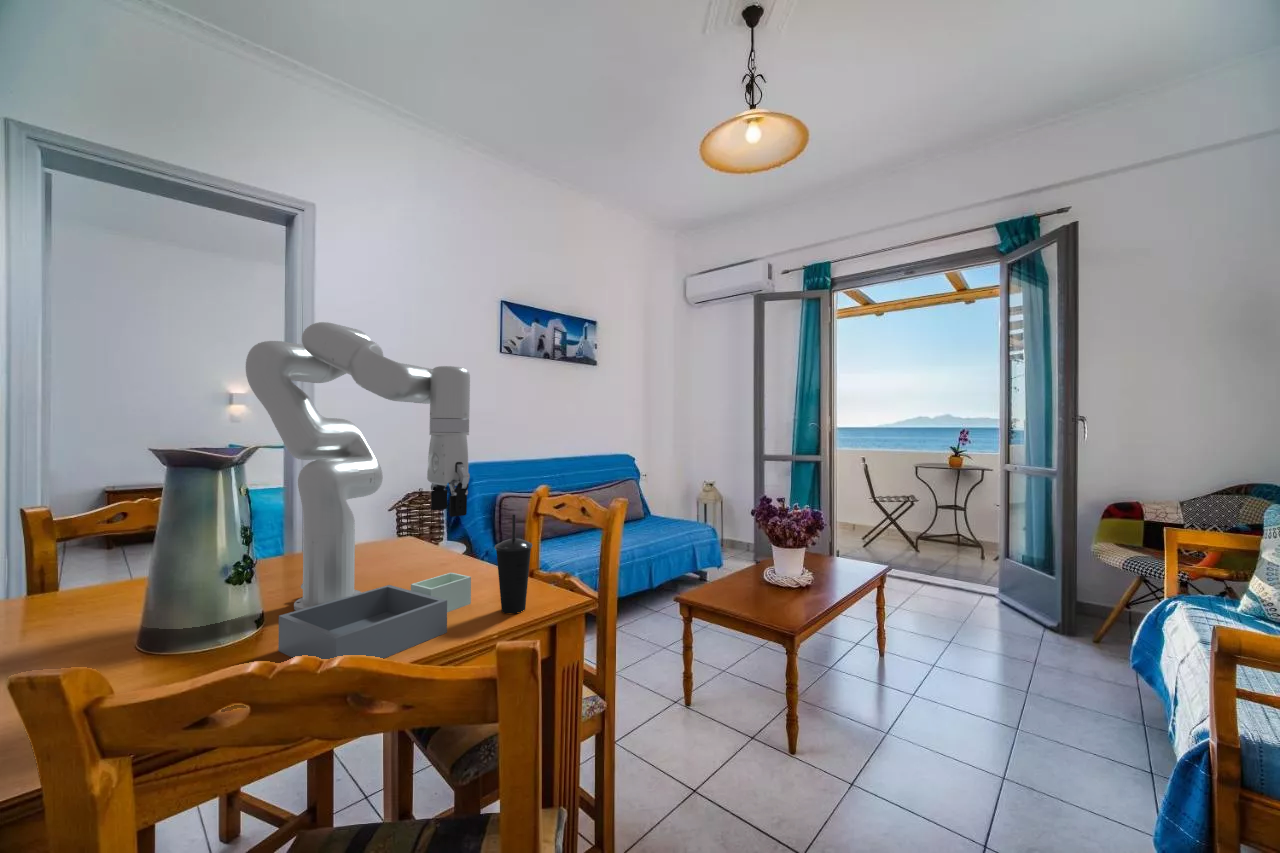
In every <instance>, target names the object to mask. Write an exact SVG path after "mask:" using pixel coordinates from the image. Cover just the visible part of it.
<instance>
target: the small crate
mask: <svg viewBox="0 0 1280 853" xmlns="http://www.w3.org/2000/svg"><path fill="white" fill-rule="evenodd" d="M410 591H414V592H418V593H422V594H425V595H429V596H433V597H437V598H440V599H444V600H447V613H450V612H452V611H455V610H457V609H460V608H463V607H466V606H469V605H471V604H472V576H469V575H465V574H459V573H456V572H448V573H445V574H441V575H437V576H435V577H431V578H427V579H424V580H421V581H417V582H413V583H411V584H410Z"/></svg>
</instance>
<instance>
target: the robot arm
mask: <svg viewBox="0 0 1280 853" xmlns="http://www.w3.org/2000/svg"><path fill="white" fill-rule="evenodd" d="M301 343H302V344H300V343H295V342H290V341H289V342H288V341H281V340H265V341H261V342H258V343H256V344H254V346H252V347H251V348H250V350H249V352H247V356H246V359H245V376H246V379H247V382H248V384H249V385H248V386H250V389H251V391H252V393H254V395H255V397H256V398H257V399H258V401H259V402H260V404H261V405H262V406H263V407H264V409H265V410H266V412H267V414H268V415H269V417H270V419H271V421H272V423H273V425H274V428H276V430H277V433H278V435H279V436H280V438H281V440H282V442H283V444H284V445H285V447H286V449H287V451H288V452H289V453H290V455H291V456H292V457H293V458H295V459H298V460H301V461H302V460H303V461H310V462H308V463H307V464H306V465H303V466H304V467H302V469H301V470H300V471H299V473H298V477H297V486H298V487H297V488H298V492H299V496H300V501H301V509H302V519H303V520H302V521H303V522H302V524H303V526H302V527H303V529H302V532H303V535H302V536H303V538H302V540H303V542H302V543H303V545H302V546H303V547H302V548H303V550H302V553H303V555H302V583H301V584H300V588H301V589H302V597H300V598H298V599H297V600H295V602H294V603H293V610H294V611H298V610H301V609H305V608H308V607H312V606H316V605H319V604H323V603H326V602H330V601H333V600H337V599H341V598H344V597H348V596H351V595H355V594H358V593H362V591H360V590H357V589H355V567H356V566H355V560H356V559H355V553H356V551H355V550H356V547H355V545H356V541H355V540H356V538H355V537H356V528H355V527H356V526H355V525H356V523H355V517H354V516H355V515H354V514H353V510H352V509H351V507H350V505H349V504H348V502H347V500H350V499H351V500H352V499H357V498H364V497H368V496H371V495H373V494H375V493H376V492H377V491H378V490H379V489H380V487H381V486H382V484H383V470H382V467H381V464H380V463H379V460H378V459H377V457H376V455H375V454H374V451H373V450H372V448H371V447H370V444H369V443H368V441H367V439H366V438H365V436H364V434H363V432H362V430H361V429H360V428H359V427H358V426H357V425H356V424H355V423H353V422H351V421H350V420H348V419H344V418H335V417H334V418H331V417H329V418H328V417H325V416H322V415H321V414H320V413H319V411H318V410H317V408H316V407H315V405H314V403H313V401H312V399H311V398H310V397H309V395H308V394H307V393H306V392H305V391H304V390H303V389H301V388H300V387H298V386H297V385H296V384H295V383H294V382H302V383H311V384H322V383H323V384H324V383H329V382H331V381H333V380H334V381H335V380H336V379H337V378H340V377H342V376H344V375H346V374H348V375H350V376H351V378H352V379H353V380H354V382H355V384H357V385H358V386H359V387H361V388H362V389H365V390H367V391H368V392H371V393H373V394H375V395H377V396H378V397H380V398H384V399H386V400H389V401H393V402H401V403H402V402H403V403H414V404H425V405H427V404H429V436H430V440H429V445H428V446H429V447H428V458H427V459H428V460H427V474H426V475H427V476H426V479H427V481H428V482H429V483H431V485H430V509H431V511H441V510H446V509H448V508H449V509H448V510H449V512H448V513H449V517H452V518H453V517H463V516H464V517H465V516H467V510H468V509H467V507H468V498H467V497H468V494H469V491H468V488H469V482H470V478H471V477H470V476H471V475H470V473H469V447H468V436H469V435H470V411H471V410H470V407H471V406H470V405H471V404H470V403H471V402H470V400H471V396H470V395H471V394H470V393H471V375H470V372H469V370H468V369H466V368H465V367H460V366H451V365H441V366H435V367H434V368H429V367H422V366H418V365H414V364H407V363H401V362H398V361H395V360H392V359H390V358H387V357H385V356H384V352H383V349H382V347H381V346H380V345H379V344H378V343H377V342H375V341H373V340H372V339H371V337H370V336H369V335H368V334H366V332H364V331H362V330H360V329H356V328H353V327H348V326H345V325H341V324H336V323H331V322H329V321H328V322H327V321H326V322H324V321H321V322H315V323H312V324H310V325H309V326H307V327H306V328H305V329H304V330H303V332H302V335H301ZM293 381H294V382H293ZM447 486H449V489H450V493H451V495H450V496H449V507H448V491H449V490H448V489H447Z"/></svg>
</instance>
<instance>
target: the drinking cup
mask: <svg viewBox="0 0 1280 853" xmlns="http://www.w3.org/2000/svg"><path fill="white" fill-rule="evenodd" d="M511 516H512V517H511V518H512V519H511V520H512V521H511V524H512V525H511V537H512V538H509V539H506V540H502V541H501V542H499V543H496V544H495V545H494V549H495V551H496V562H497V574H498V586H499V595H500V605H501V612H502V613H503V612H504V613H503V614H506V613H516V614H518V613H517V612H520V613H522V612H521V611H523V610H524V611H525V610H526V605H527V604H526V603H527V594H528V583H529V572H530V563H531V562H530V561H531V552H532V551H531V550H532V548H533V543H532V542H529V541H528V540H525V539H521V538H516V520H517V518H516V516H517V515H516V514H511ZM524 611H523V612H524Z"/></svg>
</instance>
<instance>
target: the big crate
mask: <svg viewBox="0 0 1280 853" xmlns="http://www.w3.org/2000/svg"><path fill="white" fill-rule="evenodd" d="M361 592H362V591H361ZM446 633H448V612H447V600H444V599H440V598H437V597H433V596H429V595H425V594H422V593H418V592H414V591H411V589H406V588H402V587H399V586H396V585H393V584H392V585H391V584H388V585H385V586H380V587H376V588H374V589H370V590H366V591H363V592H362V593H358V594H355V595H351V596H348V597H344V598H341V599H337V600H333V601H330V602H326V603H323V604H319V605H316V606H312V607H308V608H305V609H301V610H298V611H296V610H294V611H290V612H288V613H284V614H280V615H278V642H277V643H278V644H277V646H278V649H277V650H278V652H280V653H281V654H284V655H286V656H288V657H291V658H292V657H295V656H302V655H308V656H316V657H319V658H321V659H330V658H334V657H337V656H343V655H366V656H375V657H380V658H384V659H385V658H389V657H390V656H391V657H392V656H393V655H396V654H397V653H401V652H403V651H405V650H407V649H410V648H412V647H415V646H417V645H420V644H423V643H425V642H427V641H430V640H432V639H436V638H437V637H439V636H442V635H445V634H446Z"/></svg>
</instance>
